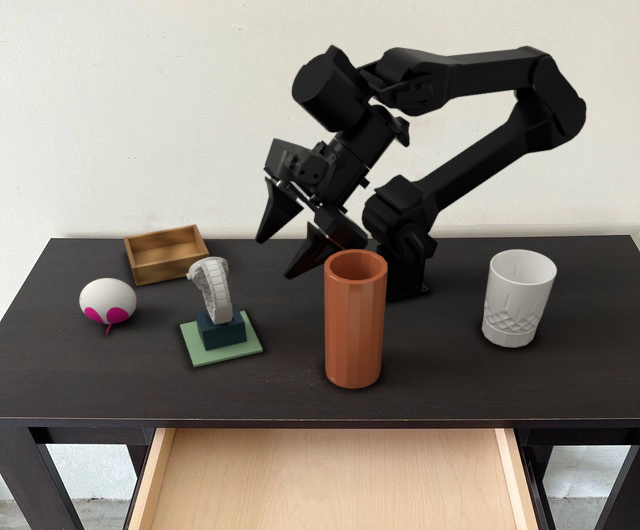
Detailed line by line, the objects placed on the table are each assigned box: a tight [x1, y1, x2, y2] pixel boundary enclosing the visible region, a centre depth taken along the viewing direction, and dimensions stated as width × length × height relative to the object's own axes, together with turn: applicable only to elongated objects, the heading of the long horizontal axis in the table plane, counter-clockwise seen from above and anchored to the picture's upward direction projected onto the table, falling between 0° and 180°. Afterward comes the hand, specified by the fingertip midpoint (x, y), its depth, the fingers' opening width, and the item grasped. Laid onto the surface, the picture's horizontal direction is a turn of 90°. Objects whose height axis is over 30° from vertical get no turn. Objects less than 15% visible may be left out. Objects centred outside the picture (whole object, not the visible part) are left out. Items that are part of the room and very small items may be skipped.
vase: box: [323, 249, 387, 390], centre depth 77 cm, size 7×7×15 cm
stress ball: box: [77, 277, 138, 335], centre depth 89 cm, size 8×8×7 cm
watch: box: [186, 256, 247, 351], centre depth 83 cm, size 6×8×11 cm
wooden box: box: [123, 224, 211, 287], centre depth 99 cm, size 11×9×3 cm
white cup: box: [481, 249, 558, 348], centre depth 83 cm, size 8×8×10 cm
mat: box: [179, 310, 264, 368], centre depth 87 cm, size 9×9×1 cm
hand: (271, 259), depth 82 cm, fingers open, 9 cm apart
